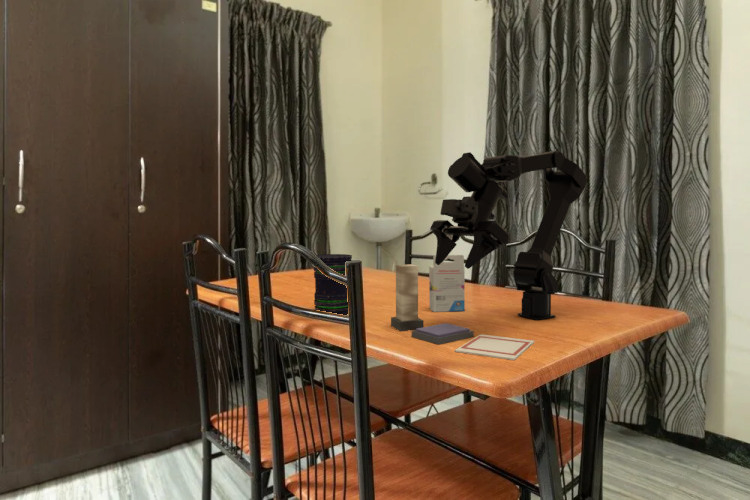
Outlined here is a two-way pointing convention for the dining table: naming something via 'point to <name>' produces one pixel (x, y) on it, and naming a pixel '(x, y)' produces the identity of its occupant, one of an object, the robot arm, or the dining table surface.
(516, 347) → the paper
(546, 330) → the dining table surface
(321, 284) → the storage jar
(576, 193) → the robot arm
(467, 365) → the dining table surface
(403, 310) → the stamp
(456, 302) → the ink box
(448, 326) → the ink pad
